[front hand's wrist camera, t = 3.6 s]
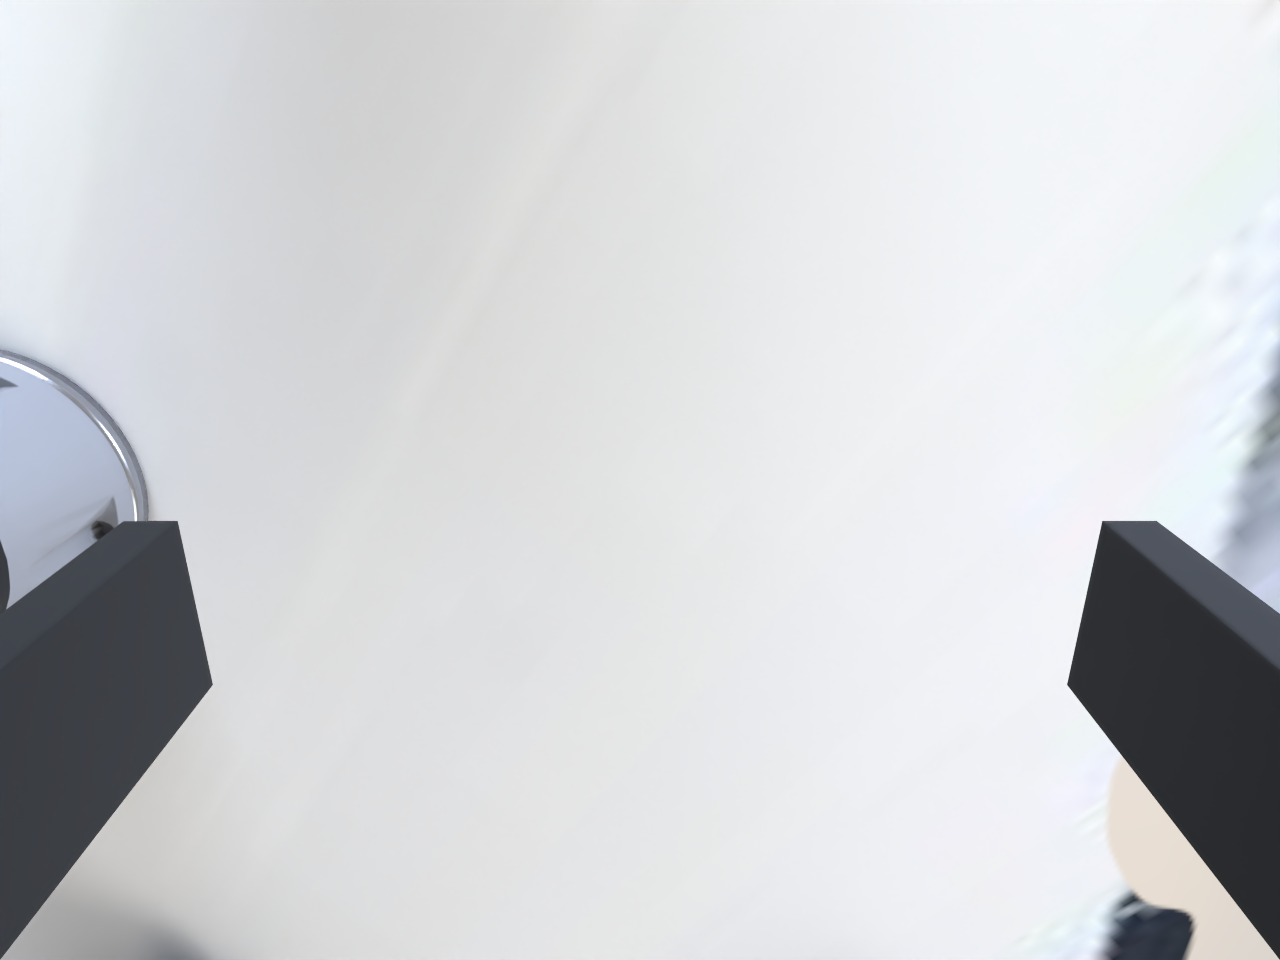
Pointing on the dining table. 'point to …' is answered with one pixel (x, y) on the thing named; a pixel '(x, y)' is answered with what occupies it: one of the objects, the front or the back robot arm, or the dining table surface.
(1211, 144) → the dining table surface
